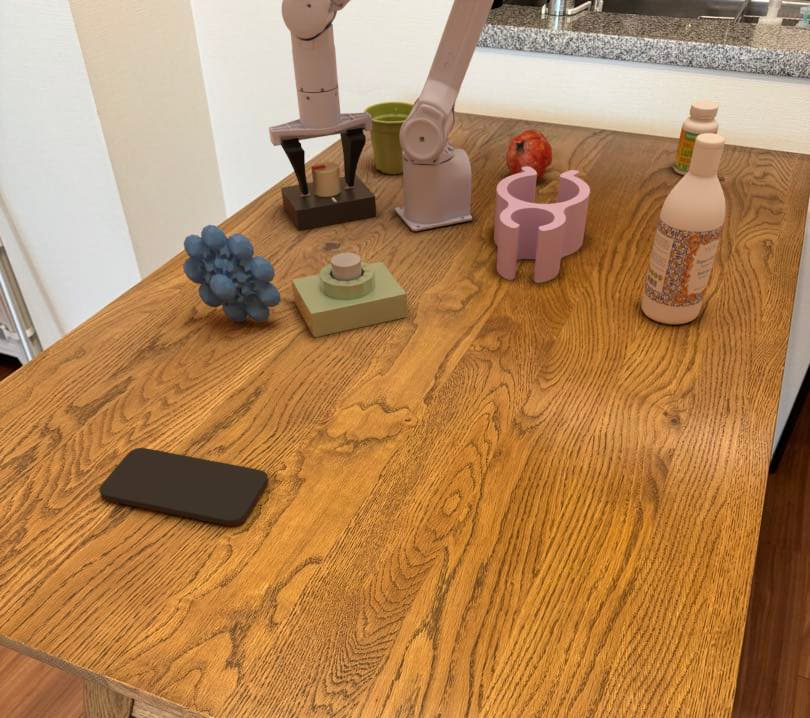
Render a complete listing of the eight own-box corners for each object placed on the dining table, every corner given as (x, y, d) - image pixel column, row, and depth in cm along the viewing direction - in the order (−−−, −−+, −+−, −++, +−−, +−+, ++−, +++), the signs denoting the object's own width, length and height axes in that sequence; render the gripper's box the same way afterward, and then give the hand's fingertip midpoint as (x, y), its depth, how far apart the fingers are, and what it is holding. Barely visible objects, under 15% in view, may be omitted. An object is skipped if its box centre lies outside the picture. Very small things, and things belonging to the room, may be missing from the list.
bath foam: (670, 332, 92) (714, 155, 78) (628, 308, 96) (662, 135, 82) (711, 314, 95) (760, 139, 80) (668, 292, 99) (707, 121, 85)
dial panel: (357, 194, 123) (356, 173, 120) (376, 216, 117) (375, 195, 115) (283, 207, 120) (280, 186, 118) (299, 231, 114) (296, 209, 112)
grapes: (182, 335, 95) (156, 239, 86) (203, 307, 99) (181, 213, 91) (272, 344, 93) (256, 247, 84) (290, 315, 97) (276, 220, 89)
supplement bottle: (671, 175, 124) (685, 109, 117) (673, 163, 128) (687, 97, 121) (706, 178, 123) (723, 111, 116) (708, 165, 127) (724, 99, 120)
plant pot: (425, 157, 133) (424, 101, 126) (420, 179, 126) (419, 121, 120) (370, 157, 133) (367, 101, 127) (363, 179, 127) (359, 121, 121)
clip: (571, 286, 101) (578, 233, 96) (476, 276, 103) (478, 224, 98) (588, 220, 114) (595, 171, 109) (504, 213, 116) (507, 164, 111)
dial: (336, 184, 118) (333, 158, 115) (344, 194, 115) (342, 167, 113) (310, 188, 117) (307, 162, 114) (318, 198, 114) (315, 172, 112)
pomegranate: (518, 181, 130) (484, 155, 122) (545, 139, 127) (512, 110, 120) (546, 200, 126) (513, 175, 119) (574, 158, 123) (542, 129, 116)
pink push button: (356, 266, 96) (355, 250, 95) (365, 279, 94) (364, 263, 92) (328, 271, 95) (327, 255, 94) (337, 285, 93) (335, 268, 92)
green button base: (383, 284, 102) (381, 247, 99) (407, 317, 96) (406, 279, 93) (294, 302, 100) (289, 265, 96) (314, 337, 94) (309, 299, 90)
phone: (238, 523, 70) (93, 493, 74) (240, 530, 71) (96, 499, 74) (271, 471, 75) (134, 445, 79) (272, 477, 76) (136, 451, 79)
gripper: (358, 71, 110) (364, 170, 120) (258, 85, 107) (273, 186, 117) (374, 85, 106) (379, 187, 115) (270, 100, 102) (284, 204, 112)
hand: (327, 188), depth 116 cm, fingers open, 6 cm apart
